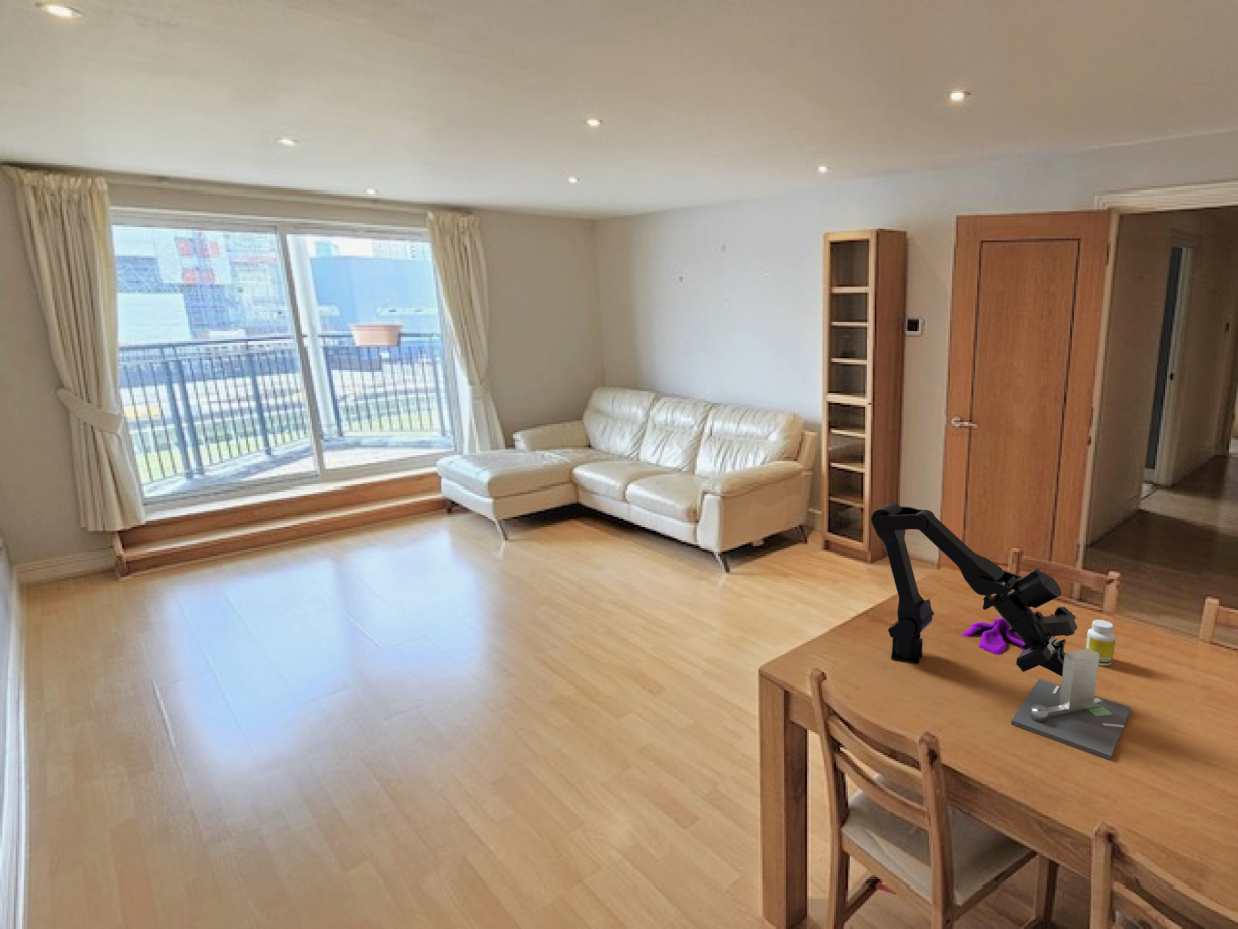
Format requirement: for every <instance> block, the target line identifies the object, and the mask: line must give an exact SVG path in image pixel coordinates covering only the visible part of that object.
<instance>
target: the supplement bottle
mask: <svg viewBox="0 0 1238 929" xmlns="http://www.w3.org/2000/svg"><path fill="white" fill-rule="evenodd" d="M1091 622H1092V624H1091V628H1089V629H1088V630H1087V635H1086V640H1085V641H1086V642H1085V649H1087V648H1090V649H1092V650H1094V651H1095V652H1097V653H1099V663H1098V666H1102V667H1103V666H1104V667H1105V666H1110V665H1111V664H1112V663H1113V660H1114V659H1113V658H1114V650H1115V642H1116V635H1115V634H1114V633H1113V630H1114V625H1113V623H1112V622H1110V621H1106V620H1103V619H1094V620H1093V621H1091Z"/></svg>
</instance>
